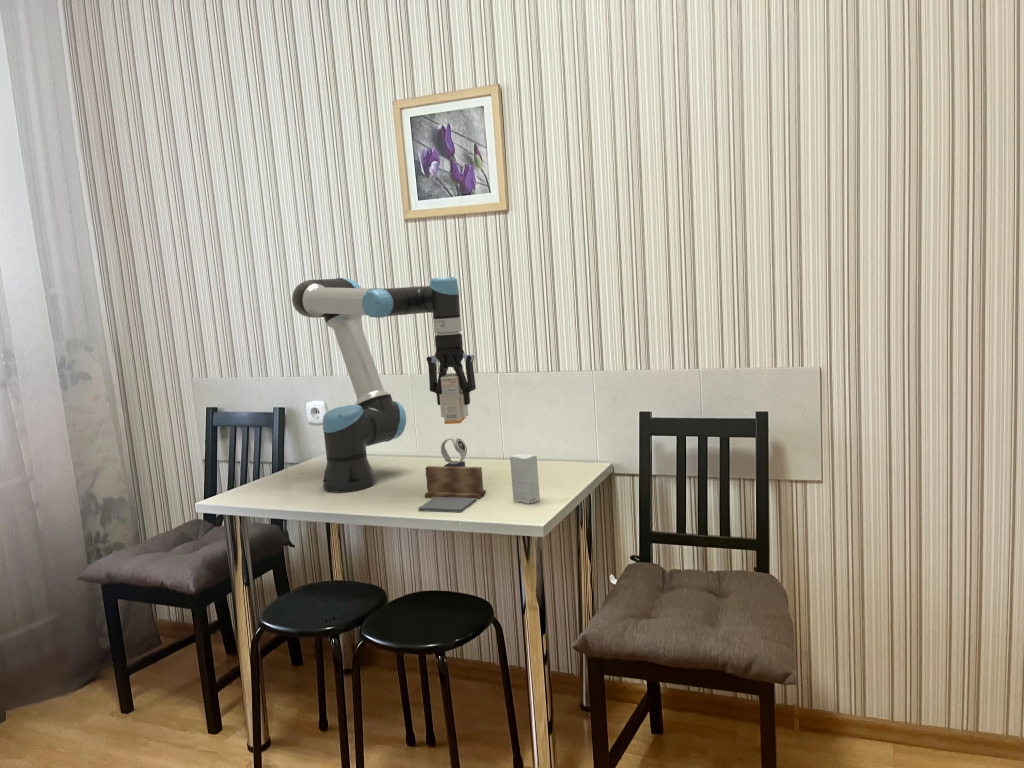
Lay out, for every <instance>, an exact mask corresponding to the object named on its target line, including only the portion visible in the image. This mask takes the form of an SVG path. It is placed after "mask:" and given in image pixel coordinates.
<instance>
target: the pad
mask: <svg viewBox="0 0 1024 768" xmlns="http://www.w3.org/2000/svg"><path fill="white" fill-rule="evenodd" d="M477 501H478V500H477V498H454V497H435V498H430V499H429V501H427V502H425V503H424V504H422V505H420V506H419V507H418V512H419V511H420V512H440V513H441V512H442V513H463V512H464V511H465V510H466V508H467V509H468V508H470V507H471V506H473V503H474V504H475V503H476V502H477Z"/></svg>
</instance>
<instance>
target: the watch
mask: <svg viewBox="0 0 1024 768" xmlns="http://www.w3.org/2000/svg"><path fill="white" fill-rule="evenodd" d="M448 441H451V442H452V444H453V447H454V450H455V451H456V452H457V453H458V454H459V455H460V457H461V458H460V460H452V459H451V457H450V454H449V453H448V451H447V449H446V443H447V442H448ZM440 445H441V446H440V453H441V456H442V458H443V459H444V461H445V462H446V464H444V465H443V466H446V467H466V461H465V459H466V457H467V451H468V447H467V445H466V443H465V442H464V441H463V439H461V438H458V437H454V436H453V437H448V438H447V439H445V440H444V441H442V443H441V444H440Z"/></svg>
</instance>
